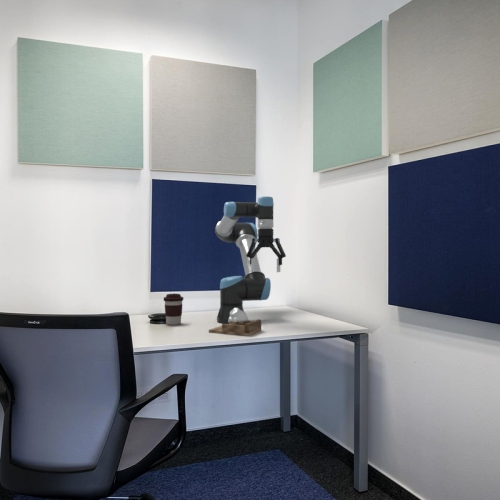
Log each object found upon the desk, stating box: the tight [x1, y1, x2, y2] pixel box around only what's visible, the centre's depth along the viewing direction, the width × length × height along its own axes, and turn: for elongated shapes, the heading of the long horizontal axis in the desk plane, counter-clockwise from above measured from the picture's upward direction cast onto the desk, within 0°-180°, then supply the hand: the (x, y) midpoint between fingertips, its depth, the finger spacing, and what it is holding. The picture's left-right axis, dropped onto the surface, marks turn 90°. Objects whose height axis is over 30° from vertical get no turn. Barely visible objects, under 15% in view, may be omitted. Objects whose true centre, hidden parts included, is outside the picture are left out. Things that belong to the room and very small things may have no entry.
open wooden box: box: [208, 319, 262, 337], centre depth 218 cm, size 20×14×5 cm
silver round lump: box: [228, 308, 249, 326], centre depth 217 cm, size 9×10×10 cm
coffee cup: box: [163, 293, 184, 326], centre depth 239 cm, size 10×10×15 cm
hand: (265, 271), depth 231 cm, fingers open, 13 cm apart
